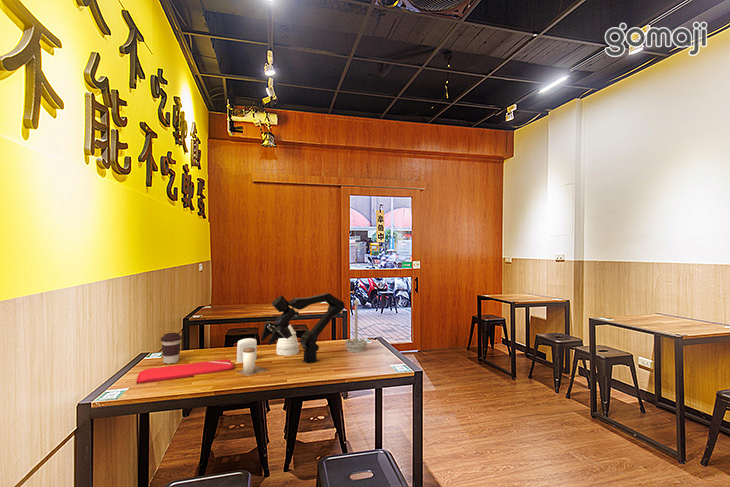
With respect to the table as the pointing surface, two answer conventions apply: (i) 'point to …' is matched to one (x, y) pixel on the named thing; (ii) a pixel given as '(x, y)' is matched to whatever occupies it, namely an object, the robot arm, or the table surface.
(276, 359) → the table surface
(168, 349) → the coffee cup
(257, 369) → the board
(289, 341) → the honey pot
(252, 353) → the tumbler
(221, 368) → the dish drying mat
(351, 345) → the flag stand
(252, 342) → the photo printer
